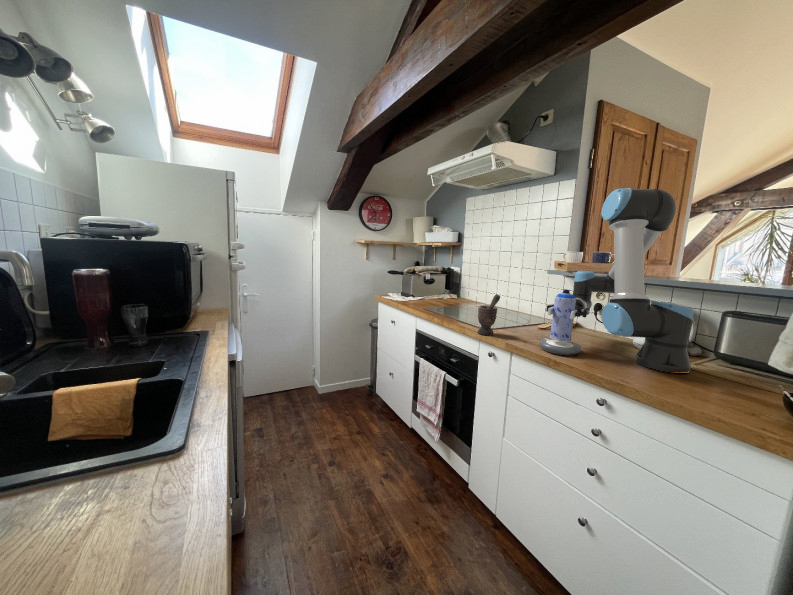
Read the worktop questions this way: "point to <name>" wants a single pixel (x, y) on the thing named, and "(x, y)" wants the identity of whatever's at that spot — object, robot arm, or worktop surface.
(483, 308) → the mortar and pestle
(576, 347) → the disc
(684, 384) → the worktop surface
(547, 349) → the turntable base
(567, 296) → the aerosol can
